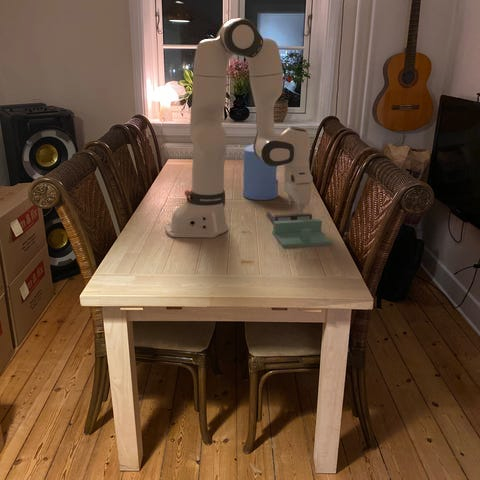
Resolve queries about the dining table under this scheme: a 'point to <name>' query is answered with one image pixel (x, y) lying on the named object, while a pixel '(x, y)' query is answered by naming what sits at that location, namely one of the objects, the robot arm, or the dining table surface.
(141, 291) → the dining table surface
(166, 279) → the dining table surface
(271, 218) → the glasses frame
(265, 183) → the water jug
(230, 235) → the dining table surface
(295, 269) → the dining table surface
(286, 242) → the display stand
